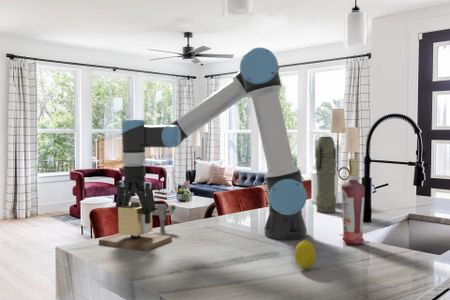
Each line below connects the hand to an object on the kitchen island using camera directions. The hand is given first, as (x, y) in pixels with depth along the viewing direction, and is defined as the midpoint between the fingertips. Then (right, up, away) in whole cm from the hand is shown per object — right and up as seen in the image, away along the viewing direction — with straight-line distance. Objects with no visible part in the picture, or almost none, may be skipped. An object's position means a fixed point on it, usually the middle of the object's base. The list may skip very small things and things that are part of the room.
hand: (135, 231), depth 139 cm
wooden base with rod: (0, -4, 0) cm, 4 cm away
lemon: (+52, -4, -30) cm, 60 cm away
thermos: (+78, -1, +51) cm, 93 cm away
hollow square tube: (0, 0, 0) cm, 0 cm away
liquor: (+73, -3, -5) cm, 73 cm away
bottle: (+83, 0, +75) cm, 112 cm away
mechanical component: (+7, -3, +17) cm, 18 cm away
